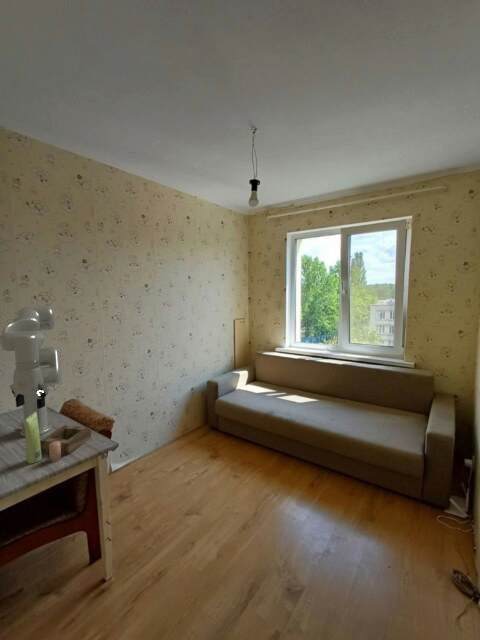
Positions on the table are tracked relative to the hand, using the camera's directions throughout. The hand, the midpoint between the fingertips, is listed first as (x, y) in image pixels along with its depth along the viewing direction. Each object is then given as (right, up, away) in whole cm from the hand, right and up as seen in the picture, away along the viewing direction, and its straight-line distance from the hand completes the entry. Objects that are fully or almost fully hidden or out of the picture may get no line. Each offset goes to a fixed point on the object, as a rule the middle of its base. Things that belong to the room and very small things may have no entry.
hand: (30, 406), depth 116 cm
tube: (0, -23, +3) cm, 23 cm away
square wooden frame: (+6, -22, +15) cm, 27 cm away
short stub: (+8, -23, +4) cm, 25 cm away
